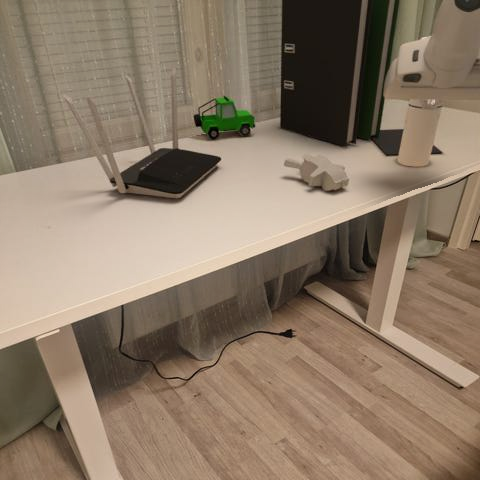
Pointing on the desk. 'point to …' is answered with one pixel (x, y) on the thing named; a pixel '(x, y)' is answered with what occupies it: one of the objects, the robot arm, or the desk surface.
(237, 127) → the toy car
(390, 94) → the robot arm
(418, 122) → the cylindrical container
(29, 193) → the desk surface
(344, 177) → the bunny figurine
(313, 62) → the ring binders
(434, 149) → the mat
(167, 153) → the wireless router
